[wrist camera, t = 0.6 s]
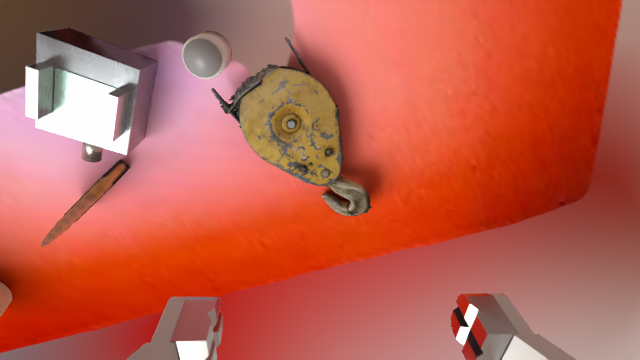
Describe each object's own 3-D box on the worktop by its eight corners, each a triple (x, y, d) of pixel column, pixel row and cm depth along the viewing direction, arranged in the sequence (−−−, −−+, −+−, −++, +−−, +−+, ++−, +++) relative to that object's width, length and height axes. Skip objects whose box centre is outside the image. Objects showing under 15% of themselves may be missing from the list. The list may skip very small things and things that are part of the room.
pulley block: (326, 249, 55) (202, 97, 42) (319, 230, 60) (207, 89, 47) (398, 201, 54) (295, 31, 41) (385, 186, 59) (289, 31, 46)
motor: (68, 27, 43) (17, 35, 35) (157, 61, 45) (128, 75, 37) (62, 137, 49) (18, 164, 42) (140, 160, 52) (112, 190, 44)
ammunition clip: (120, 158, 52) (76, 200, 41) (131, 166, 53) (90, 209, 42) (81, 198, 55) (31, 246, 44) (91, 205, 55) (44, 254, 45)
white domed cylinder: (198, 24, 43) (185, 29, 38) (236, 40, 45) (228, 46, 39) (190, 62, 45) (176, 71, 40) (226, 76, 47) (217, 86, 41)
